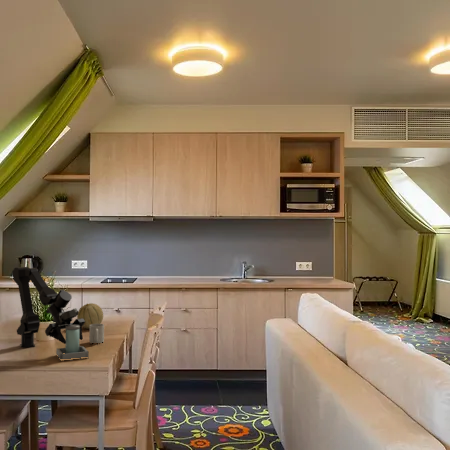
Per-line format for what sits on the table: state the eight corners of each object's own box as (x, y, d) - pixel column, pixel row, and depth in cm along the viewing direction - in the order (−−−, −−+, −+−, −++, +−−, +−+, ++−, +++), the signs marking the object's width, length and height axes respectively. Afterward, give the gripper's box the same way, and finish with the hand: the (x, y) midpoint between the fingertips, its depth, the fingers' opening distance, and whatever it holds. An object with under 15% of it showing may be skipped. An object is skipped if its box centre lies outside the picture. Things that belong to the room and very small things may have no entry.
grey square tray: (56, 355, 223) (56, 348, 223) (82, 352, 228) (83, 345, 228) (60, 361, 212) (60, 354, 212) (88, 358, 218) (88, 351, 218)
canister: (63, 356, 222) (64, 325, 222) (77, 354, 224) (78, 324, 225) (66, 359, 216) (66, 327, 216) (80, 357, 219) (80, 326, 219)
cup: (104, 340, 253) (104, 323, 253) (103, 345, 243) (103, 327, 243) (89, 341, 251) (90, 323, 251) (88, 345, 242) (88, 327, 242)
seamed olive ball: (106, 326, 290) (107, 301, 290) (97, 331, 275) (98, 305, 275) (82, 325, 291) (83, 300, 291) (72, 330, 277) (73, 304, 277)
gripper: (49, 305, 215) (64, 333, 209) (82, 301, 231) (98, 326, 224) (38, 321, 220) (53, 349, 213) (72, 315, 235) (87, 341, 229)
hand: (73, 341), depth 220 cm, fingers open, 9 cm apart
